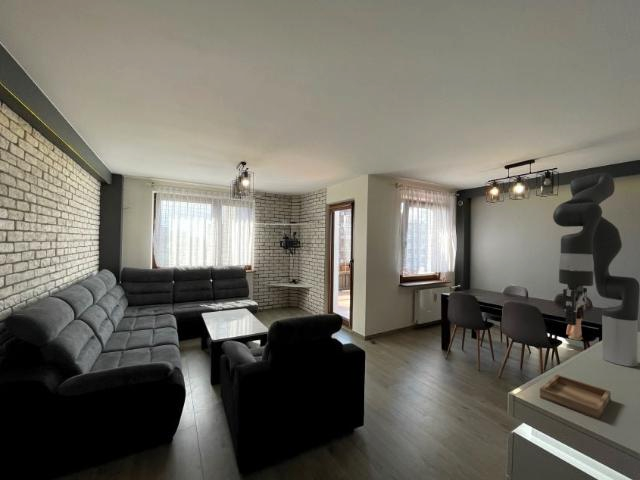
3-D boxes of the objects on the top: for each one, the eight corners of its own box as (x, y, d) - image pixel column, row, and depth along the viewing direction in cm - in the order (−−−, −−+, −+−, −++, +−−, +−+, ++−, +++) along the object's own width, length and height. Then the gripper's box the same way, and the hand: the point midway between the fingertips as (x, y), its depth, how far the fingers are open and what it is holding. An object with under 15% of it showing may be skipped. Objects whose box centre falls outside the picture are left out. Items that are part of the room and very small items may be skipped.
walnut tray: (556, 382, 87) (556, 374, 87) (610, 400, 77) (610, 391, 77) (539, 397, 78) (539, 388, 78) (598, 419, 68) (598, 410, 68)
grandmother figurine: (567, 334, 84) (568, 294, 84) (584, 337, 81) (585, 296, 82) (565, 339, 79) (566, 296, 79) (583, 343, 76) (584, 298, 76)
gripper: (566, 267, 88) (565, 317, 87) (552, 267, 80) (551, 322, 79) (598, 269, 82) (598, 323, 81) (587, 270, 74) (586, 329, 73)
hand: (574, 322), depth 80 cm, fingers closed on grandmother figurine, 8 cm apart
